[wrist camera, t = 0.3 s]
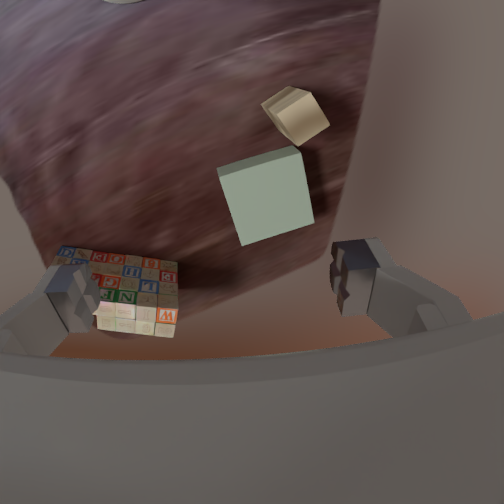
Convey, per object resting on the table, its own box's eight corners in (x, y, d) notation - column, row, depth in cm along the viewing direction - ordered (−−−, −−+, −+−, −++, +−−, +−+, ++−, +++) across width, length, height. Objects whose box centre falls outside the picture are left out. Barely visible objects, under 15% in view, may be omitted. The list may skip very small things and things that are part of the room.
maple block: (260, 104, 43) (276, 114, 36) (288, 85, 42) (310, 92, 35) (279, 130, 46) (298, 146, 38) (306, 112, 45) (330, 125, 37)
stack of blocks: (62, 273, 52) (43, 320, 42) (61, 244, 49) (38, 290, 39) (173, 288, 58) (173, 339, 48) (178, 261, 55) (179, 310, 45)
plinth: (216, 168, 47) (218, 177, 44) (292, 145, 47) (300, 152, 44) (238, 233, 54) (241, 246, 51) (306, 211, 54) (314, 222, 51)
